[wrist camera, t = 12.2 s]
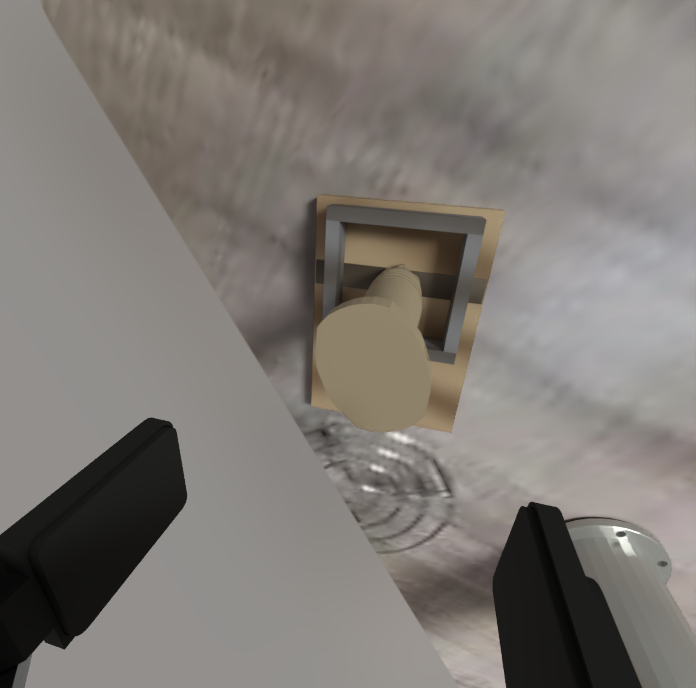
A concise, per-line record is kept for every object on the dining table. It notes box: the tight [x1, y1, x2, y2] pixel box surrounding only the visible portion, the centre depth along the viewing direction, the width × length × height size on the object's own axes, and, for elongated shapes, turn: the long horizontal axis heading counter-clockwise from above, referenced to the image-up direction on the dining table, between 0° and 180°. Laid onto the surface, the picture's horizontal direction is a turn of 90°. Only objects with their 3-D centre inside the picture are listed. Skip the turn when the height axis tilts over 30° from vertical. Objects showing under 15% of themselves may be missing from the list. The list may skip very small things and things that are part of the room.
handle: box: [315, 264, 432, 432], centre depth 22 cm, size 5×6×15 cm
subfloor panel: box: [311, 194, 505, 433], centre depth 30 cm, size 20×14×4 cm
